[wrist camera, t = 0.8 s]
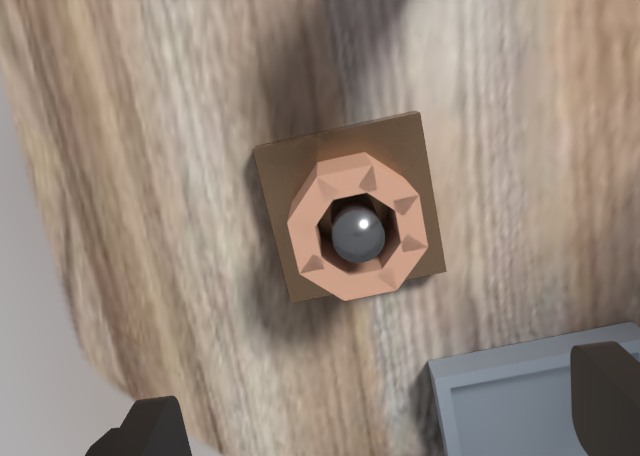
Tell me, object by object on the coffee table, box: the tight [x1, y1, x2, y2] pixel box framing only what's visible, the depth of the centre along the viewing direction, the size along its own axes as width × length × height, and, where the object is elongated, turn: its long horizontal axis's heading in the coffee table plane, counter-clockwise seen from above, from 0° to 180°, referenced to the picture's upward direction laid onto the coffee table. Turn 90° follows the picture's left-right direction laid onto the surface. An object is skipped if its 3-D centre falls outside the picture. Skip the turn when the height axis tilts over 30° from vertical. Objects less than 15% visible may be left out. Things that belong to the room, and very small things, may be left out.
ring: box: [287, 152, 428, 301], centre depth 27 cm, size 6×6×4 cm
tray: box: [428, 321, 640, 456], centre depth 34 cm, size 13×13×2 cm
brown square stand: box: [252, 111, 446, 303], centre depth 28 cm, size 9×9×6 cm
